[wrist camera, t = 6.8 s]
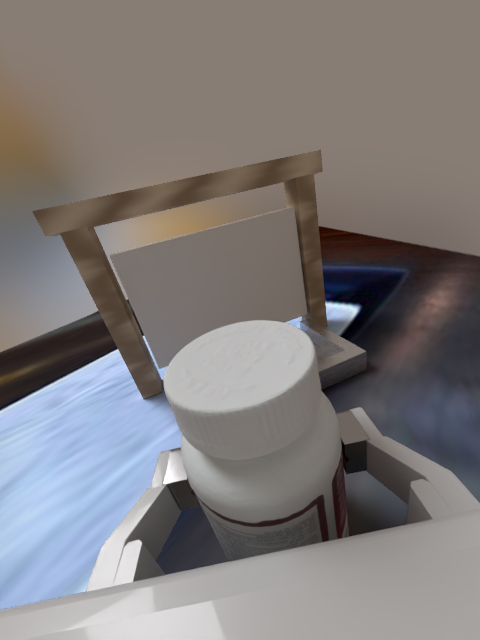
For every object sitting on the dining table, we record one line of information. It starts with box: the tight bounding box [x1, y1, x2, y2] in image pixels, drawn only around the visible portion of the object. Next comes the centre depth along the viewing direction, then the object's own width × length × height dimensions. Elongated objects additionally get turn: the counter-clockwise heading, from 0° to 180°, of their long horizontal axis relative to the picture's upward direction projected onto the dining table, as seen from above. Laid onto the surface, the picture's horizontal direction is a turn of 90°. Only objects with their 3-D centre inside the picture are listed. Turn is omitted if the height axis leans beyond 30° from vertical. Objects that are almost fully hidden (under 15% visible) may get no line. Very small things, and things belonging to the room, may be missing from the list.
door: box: [110, 207, 307, 369], centre depth 27 cm, size 18×3×12 cm, turn 109°
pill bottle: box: [164, 320, 349, 562], centre depth 11 cm, size 6×6×11 cm
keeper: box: [300, 318, 367, 390], centre depth 25 cm, size 10×9×2 cm
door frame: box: [33, 150, 327, 399], centre depth 26 cm, size 25×2×19 cm, turn 109°
